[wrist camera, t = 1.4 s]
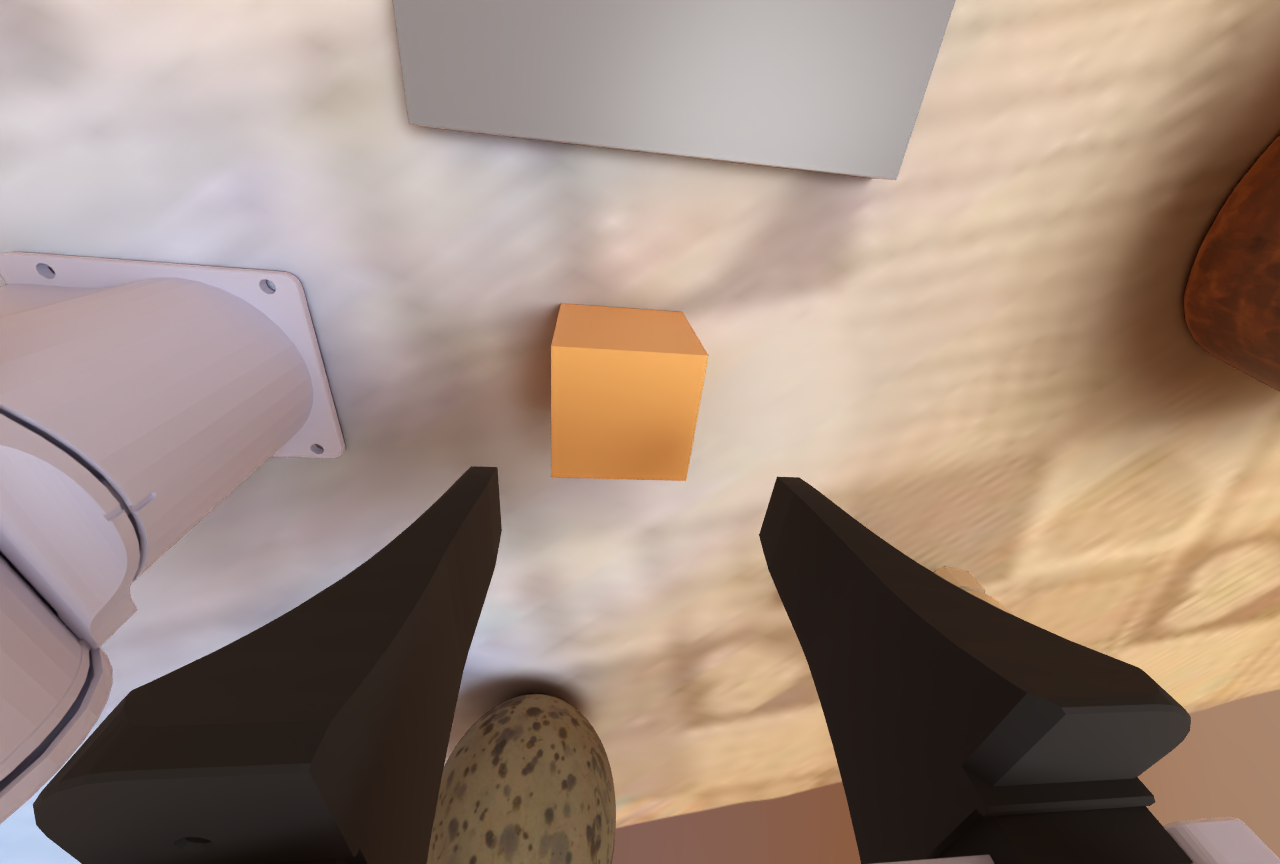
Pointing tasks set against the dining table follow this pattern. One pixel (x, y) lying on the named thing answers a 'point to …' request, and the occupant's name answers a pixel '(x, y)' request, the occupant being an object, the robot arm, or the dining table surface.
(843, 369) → the dining table surface
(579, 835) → the decorative egg
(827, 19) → the plate
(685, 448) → the light orange cube
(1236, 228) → the brown tapered pot
